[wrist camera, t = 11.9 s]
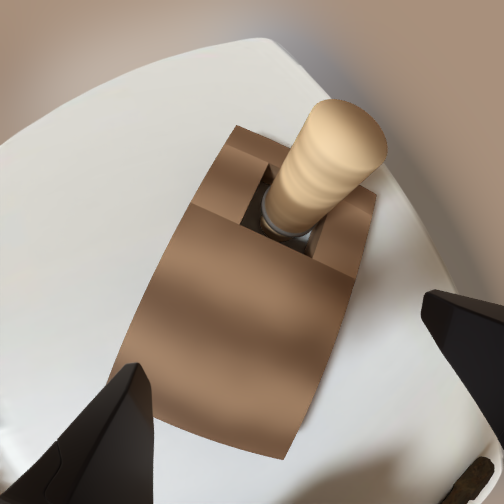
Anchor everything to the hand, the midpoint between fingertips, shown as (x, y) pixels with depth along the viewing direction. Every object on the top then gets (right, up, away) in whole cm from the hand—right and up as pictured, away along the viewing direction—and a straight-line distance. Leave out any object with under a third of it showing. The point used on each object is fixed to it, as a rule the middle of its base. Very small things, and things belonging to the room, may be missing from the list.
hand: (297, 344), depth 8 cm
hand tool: (+22, -30, +11) cm, 39 cm away
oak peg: (+1, +5, +16) cm, 17 cm away
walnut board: (-1, 0, +14) cm, 14 cm away
